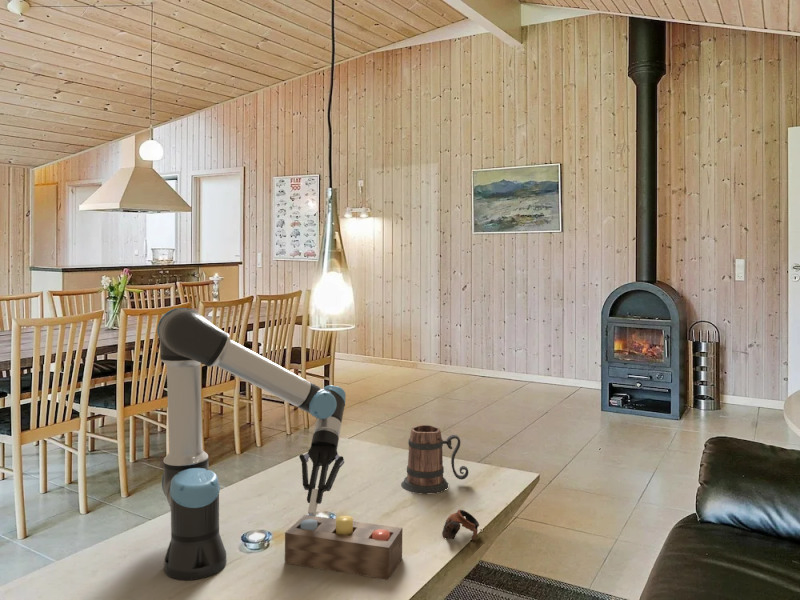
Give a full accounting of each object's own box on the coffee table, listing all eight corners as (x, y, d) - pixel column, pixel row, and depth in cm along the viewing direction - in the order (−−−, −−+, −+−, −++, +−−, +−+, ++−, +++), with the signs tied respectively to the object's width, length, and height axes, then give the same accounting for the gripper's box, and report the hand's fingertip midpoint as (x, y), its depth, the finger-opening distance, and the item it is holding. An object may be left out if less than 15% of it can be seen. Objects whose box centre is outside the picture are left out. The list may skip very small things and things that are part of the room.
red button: (369, 552, 159) (370, 535, 159) (375, 545, 164) (375, 528, 163) (386, 555, 158) (386, 537, 158) (391, 547, 162) (391, 530, 162)
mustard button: (333, 538, 162) (333, 521, 162) (339, 531, 166) (339, 514, 166) (349, 540, 161) (349, 523, 160) (355, 533, 165) (355, 516, 165)
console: (284, 563, 162) (284, 532, 161) (304, 543, 173) (304, 514, 173) (388, 579, 154) (389, 547, 154) (402, 557, 166) (402, 527, 165)
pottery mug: (447, 528, 185) (462, 505, 185) (472, 550, 181) (487, 526, 180) (429, 532, 175) (445, 508, 174) (455, 556, 170) (471, 531, 170)
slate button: (297, 541, 165) (297, 524, 165) (304, 534, 169) (304, 518, 169) (313, 543, 164) (313, 527, 163) (320, 536, 168) (320, 520, 168)
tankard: (401, 493, 211) (402, 435, 210) (400, 476, 228) (401, 422, 226) (471, 494, 211) (472, 435, 210) (465, 476, 228) (466, 422, 227)
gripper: (350, 442, 185) (337, 521, 169) (306, 440, 186) (290, 518, 170) (346, 429, 179) (333, 510, 163) (301, 427, 180) (284, 507, 165)
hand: (311, 514), depth 167 cm, fingers closed
